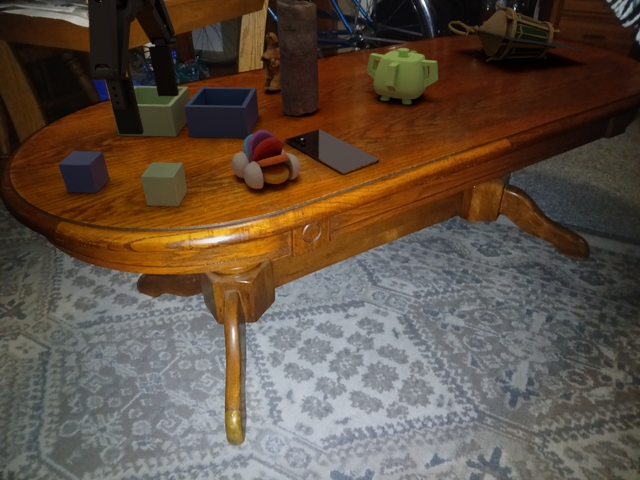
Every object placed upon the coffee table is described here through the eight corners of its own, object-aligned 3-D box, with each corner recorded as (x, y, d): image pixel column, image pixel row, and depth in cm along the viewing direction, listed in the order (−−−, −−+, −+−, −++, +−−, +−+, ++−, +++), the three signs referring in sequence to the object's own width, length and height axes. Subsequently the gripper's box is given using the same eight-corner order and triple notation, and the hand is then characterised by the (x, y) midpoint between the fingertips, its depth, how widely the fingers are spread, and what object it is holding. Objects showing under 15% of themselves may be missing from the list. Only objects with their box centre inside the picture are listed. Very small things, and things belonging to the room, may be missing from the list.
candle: (283, 103, 105) (278, -4, 93) (319, 103, 104) (318, -4, 93) (280, 117, 98) (273, 4, 87) (318, 117, 98) (316, 4, 87)
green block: (146, 205, 71) (140, 176, 69) (157, 190, 75) (151, 161, 72) (178, 206, 71) (173, 177, 68) (188, 190, 74) (183, 162, 72)
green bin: (118, 135, 92) (110, 105, 89) (140, 114, 101) (133, 85, 97) (176, 136, 91) (170, 106, 88) (192, 115, 100) (188, 86, 97)
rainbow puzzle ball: (256, 198, 72) (252, 151, 68) (227, 173, 79) (221, 128, 75) (307, 182, 76) (306, 136, 72) (275, 159, 83) (272, 116, 79)
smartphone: (342, 172, 78) (283, 138, 88) (342, 176, 78) (283, 141, 89) (379, 159, 82) (319, 127, 92) (379, 162, 82) (319, 130, 92)
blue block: (67, 192, 74) (58, 164, 72) (81, 178, 78) (73, 150, 76) (97, 193, 74) (88, 165, 72) (110, 178, 78) (102, 151, 75)
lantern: (576, 82, 127) (483, 61, 114) (512, 67, 146) (426, 48, 133) (599, 24, 121) (504, -5, 109) (529, 16, 140) (442, -9, 127)
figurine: (291, 91, 111) (288, 33, 105) (267, 95, 109) (263, 36, 102) (281, 85, 115) (278, 28, 108) (258, 89, 112) (253, 32, 106)
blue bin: (189, 137, 91) (184, 106, 88) (204, 115, 100) (200, 86, 96) (248, 138, 90) (245, 107, 87) (258, 116, 99) (256, 87, 96)
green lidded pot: (437, 103, 104) (444, 53, 99) (386, 109, 101) (389, 58, 96) (411, 86, 113) (415, 39, 108) (363, 91, 110) (365, 44, 105)
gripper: (92, -78, 43) (145, 154, 55) (180, -88, 64) (205, 83, 76) (7, -76, 44) (78, 153, 56) (122, -86, 64) (156, 82, 76)
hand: (151, 113), depth 66 cm, fingers open, 13 cm apart
